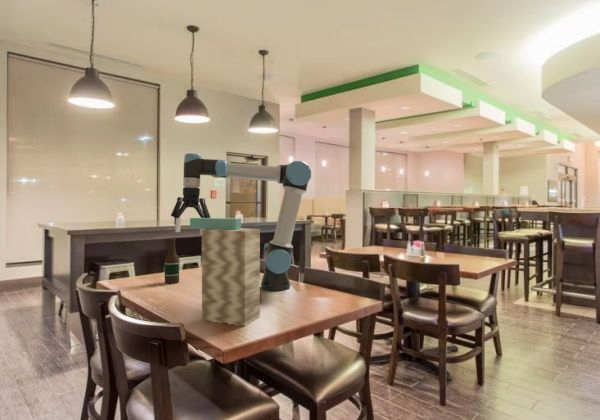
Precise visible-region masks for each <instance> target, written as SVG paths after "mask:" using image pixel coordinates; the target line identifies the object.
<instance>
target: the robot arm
mask: <svg viewBox="0 0 600 420" xmlns="http://www.w3.org/2000/svg"><path fill="white" fill-rule="evenodd" d="M201 176H211V177H212V178H216V179H219V178H225V179H226V178H227V179H239V180H240V179H241V180H251V181H252V180H253V181H264V182H265V181H267V182H276V183H277V184H282V188H283V191H284V192H283V197H282V201H281V205H280V209H279V213H278V218H277V223H276V226H275V231H274V235H273V239H272V240H270V241H269V242H268V243H267V242H266V243H265V244H264V247H263V253H264V254H263V255H264V256H263V260H264V261H263V267H264V268H263V276H262V278H261V280H260V289H261V290H265V291H270V292H271V291H277V292H279V291H286V290H290V288H291V282H290V278H289V275H288V272H287V271H288V270H289V269H290V267H291V264H292V255H293V254H292V253H293V249H294V246H293V244H292V241H293V236H294V232H295V226H296V223H297V218H298V215H299V214H298V213H299V209H300V204H301V201H302V196H303V194H305V193H306V192H307V188H308V185H309V182H310V180H311V178H312V169H311V166H309V164H308V163H306V162H305V161H302V160H294V161H292V162H290V163H289V164H279V165H277V166H276V165H273V166H272V165H260V164H248V163H232V162H227V160H225V159H211V158H209V159H208V158H207V159H206V158H202V155H201V154H199V153H190V152H189V153H185V154H184V160H183V181H182V182H183V183H182V185H183V188H182V196H181V197H180V196H178V197H177V198H176V203H175V205H174V207H173V210H172V212H171V214H170V217H172V218H174V223H173V224H174V225H175V226H174V227H175V231H174V233H181V227H182V226H181V220H182V218H180V217H181V216H182V214H183V213H184V212H185V210H187V209H188V208H191V209H192V208H193V209H194V210H195V211H196V213H198V216H199V218H212V217H211V215H210V212H209V210H208V206H207V204H206V198H204V197H200V194H201V189H200V187H201ZM202 230H205V229H199V235H202Z"/></svg>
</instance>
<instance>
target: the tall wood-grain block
mask: <svg viewBox="0 0 600 420" xmlns="http://www.w3.org/2000/svg"><path fill="white" fill-rule="evenodd" d="M260 237H261V229H260V228H243V227H241V229H240V230H220V229H205V230H202V234H201V321H202V320H203V321H202V322H207V321H211V322H210V323H215V322H218V323H217V324H223V323H228V324H227V325H231V324H235V325H234V326H239V325H242V326H241V327H246V326H247V325H249V324H251V323H253V322H255V321H256V320H258V318H260V317H261V315H260V314H261V313H260V312H261V303H260V294H261V293H260V292H261V290H260V289H261V279H260V278H261V274H260V273H261V270H260V269H261V259H260V258H261V257H260V256H261V252H260V251H261V238H260ZM255 319H256V320H255ZM252 321H253V322H252Z"/></svg>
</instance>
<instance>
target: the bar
mask: <svg viewBox="0 0 600 420" xmlns="http://www.w3.org/2000/svg"><path fill="white" fill-rule="evenodd" d="M241 228H242V218H228V217H226V218H225V217H223V218H221V217H217V218H216V217H211V218H201V217H189V229H191V230H192V229H193V230H195V229H197V230H198V229H199V230H200V229H220V230H240V229H241Z"/></svg>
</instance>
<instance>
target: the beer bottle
mask: <svg viewBox="0 0 600 420" xmlns="http://www.w3.org/2000/svg"><path fill="white" fill-rule="evenodd" d="M167 241H168V251H167V254H166V256H165V259H164V284H166V285H175V284H176V285H177V284H178V283H180V258H179V255H178V254H177V250H176V238H174V237H173V238H172V237H171V238H168V240H167Z"/></svg>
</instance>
